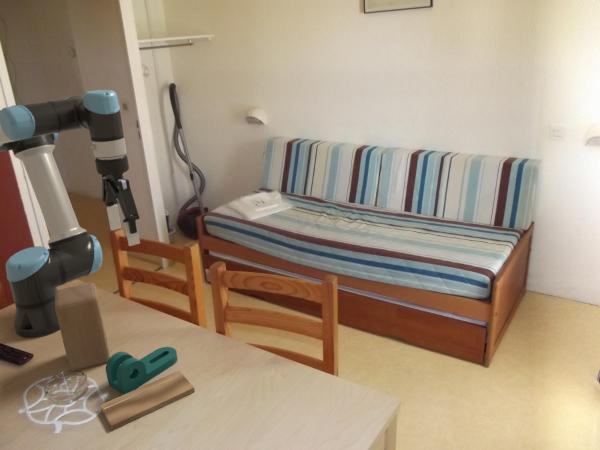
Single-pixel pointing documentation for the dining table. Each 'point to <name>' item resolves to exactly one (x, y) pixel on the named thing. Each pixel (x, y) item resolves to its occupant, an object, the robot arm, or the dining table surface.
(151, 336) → the dining table surface
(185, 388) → the plank
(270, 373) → the dining table surface
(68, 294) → the block
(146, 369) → the bracket
